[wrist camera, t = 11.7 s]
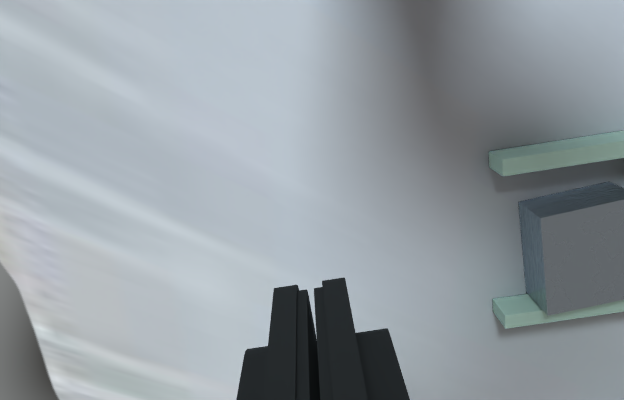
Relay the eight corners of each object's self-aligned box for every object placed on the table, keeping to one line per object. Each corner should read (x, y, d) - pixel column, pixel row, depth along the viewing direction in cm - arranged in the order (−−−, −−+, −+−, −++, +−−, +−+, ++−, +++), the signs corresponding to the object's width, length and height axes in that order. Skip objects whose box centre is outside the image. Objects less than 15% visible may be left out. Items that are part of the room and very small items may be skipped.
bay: (488, 151, 41) (502, 159, 39) (650, 126, 41) (676, 132, 38) (493, 311, 47) (505, 328, 44) (635, 290, 47) (656, 306, 44)
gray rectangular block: (516, 200, 43) (540, 218, 39) (606, 180, 43) (640, 195, 39) (525, 290, 47) (547, 315, 42) (608, 272, 46) (640, 296, 42)
